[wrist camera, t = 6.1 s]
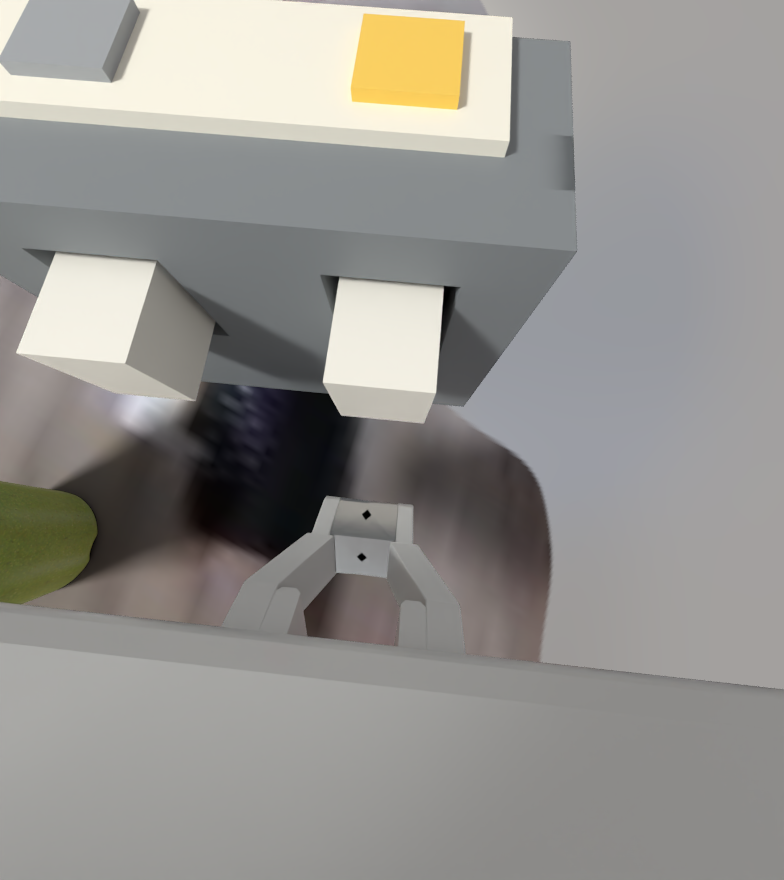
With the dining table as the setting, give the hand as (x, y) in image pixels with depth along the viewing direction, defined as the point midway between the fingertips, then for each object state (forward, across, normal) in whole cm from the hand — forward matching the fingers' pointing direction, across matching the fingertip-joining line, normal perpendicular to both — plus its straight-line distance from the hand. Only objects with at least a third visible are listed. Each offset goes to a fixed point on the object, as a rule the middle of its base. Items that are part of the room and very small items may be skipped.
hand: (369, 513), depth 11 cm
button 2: (+6, 0, -3) cm, 7 cm away
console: (+14, +5, -2) cm, 15 cm away
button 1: (+6, +10, -3) cm, 12 cm away
